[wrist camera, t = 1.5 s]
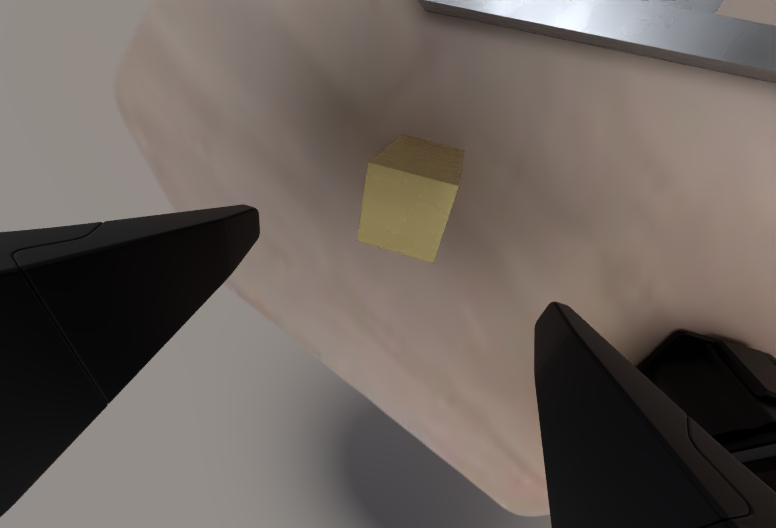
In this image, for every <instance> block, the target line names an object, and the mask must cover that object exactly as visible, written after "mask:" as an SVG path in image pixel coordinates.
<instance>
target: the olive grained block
mask: <svg viewBox="0 0 776 528" xmlns="http://www.w3.org/2000/svg"><path fill="white" fill-rule="evenodd" d="M463 156H464V150H460V149H456V148H452V147H448V146H444V145H440V144H436V143H432V142H428V141H424V140H420V139H416V138H412V137H408V136H404V135H401V136H399V137H398V138H397V139H396V140H395V141H393V142H392V143H391V144H390V145H389V146H387V147H386V148H385V149H384V150H382V151H381V152H380V153H379V154H378V155H376V156H375V157H374V158H373V159H371V160H370V161H369V162H368V167H367V174H366V181H365V188H364V195H363V202H362V209H361V216H360V223H359V230H358V237H357V241H359V242H362V243H366V244H369V245H373V246H376V247H379V248H383V249H386V250H390V251H393V252H396V253H400V254H403V255H407V256H410V257H413V258H417V259H420V260H424V261H427V262H430V263H434V260H435V257H436V254H437V251H438V248H439V245H440V242H441V239H442V236H443V233H444V230H445V227H446V224H447V221H448V218H449V215H450V212H451V209H452V206H453V203H454V200H455V197H456V194H457V191H458V188H459V183H460V176H461V170H462V163H463Z"/></svg>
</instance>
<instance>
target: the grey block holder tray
mask: <svg viewBox="0 0 776 528" xmlns="http://www.w3.org/2000/svg"><path fill="white" fill-rule="evenodd" d="M418 1H419V3H420V4H421V5H422V7H423V8H424V9H425V10H426V11H430V12H435V13H440V14H444V15H449V16H454V17H459V18H464V19H469V20H473V21H478V22H483V23H488V24H493V25H497V26H502V27H507V28H512V29H517V30H522V31H526V32H531V33H536V34H541V35H546V36H550V37H555V38H560V39H565V40H570V41H575V42H579V43H584V44H589V45H594V46H599V47H604V48H608V49H613V50H618V51H623V52H628V53H632V54H637V55H642V56H647V57H652V58H657V59H661V60H666V61H671V62H676V63H681V64H685V65H690V66H695V67H700V68H705V69H710V70H714V71H719V72H724V73H729V74H734V75H738V76H743V77H748V78H753V79H758V80H763V81H767V82H772V83H776V26H772V25H767V24H762V23H757V22H751V21H746V20H741V19H736V18H730V17H725V16H720V15H715V13H716V11H717V10H718V8H719V6H720V5H721V3H722V2H723V0H418Z"/></svg>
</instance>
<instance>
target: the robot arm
mask: <svg viewBox="0 0 776 528" xmlns="http://www.w3.org/2000/svg"><path fill="white" fill-rule="evenodd" d="M259 234H260V225H259V212H258V210H257V209H256V208H254V207H251V206H248V205H235V206H227V207H219V208H211V209H203V210H194V211H186V212H178V213H170V214H162V215H154V216H146V217H138V218H129V219H122V220H113V221H106V222H104V223H102V222H97V223H88V224H80V225H71V226H62V227H53V228H43V229H33V230H21V231H12V232H11V231H10V232H0V517H1V516H2V515H3V514H4V513H5V512H6V511H8V510H9V509H10V508H11V507H12V506H13V505H14V504H15V503H16V502H17V501H18V500H19V499H20V498H21V496H22V495H23V494H24V493H25V492H26V491H27V490H28V489H29V488H30V487H31V486H32V485H33V484H34V483H35V482H36V481H37V480H38V479H39V477H40V476H41V475H42V474H43V473H44V472H45V471H46V470H47V469H48V468H49V467H50V466H51V465H52V464H53V463H54V462H55V461H56V459H57V458H58V457H59V456H60V455H61V454H62V453H63V452H64V451H65V450H66V449H67V448H68V447H69V446H70V445H71V444H72V442H73V441H74V440H75V439H76V438H77V437H78V436H79V435H80V434H81V433H82V432H83V431H84V430H85V429H86V428H87V427H88V426H89V425H90V424H91V422H92V421H93V420H94V419H95V418H96V417H97V416H98V415H99V414H100V413H101V412H102V411H103V410H104V409H105V408H106V407H107V404H109V403H110V402H111V401H112V400H113V399H114V398H115V397H116V396H117V395H118V394H119V392H121V390H122V389H123V388H124V387H125V386H126V385H127V384H128V383H129V382H130V381H131V380H132V379H133V378H134V377H135V376H136V375H137V374H138V372H139V371H140V370H141V369H142V368H143V367H144V366H145V365H146V364H147V363H148V362H149V361H150V360H151V359H152V358H153V357H154V355H156V353H157V352H158V351H159V350H160V349H161V348H162V347H163V346H164V345H165V344H166V343H167V342H168V341H169V340H170V339H171V338H172V337H173V335H174V334H175V333H176V332H177V331H178V330H179V329H180V328H181V327H182V326H183V325H184V324H185V323H186V322H187V321H188V320H189V319H190V317H191V316H192V315H193V314H194V313H195V312H196V311H197V310H198V309H199V308H200V307H201V306H202V305H203V304H204V303H205V302H206V301H207V299H208V298H209V297H210V296H211V295H212V294H213V293H214V292H215V291H216V290H217V289H218V288H219V287H220V286H221V285H222V284H223V283H224V282H225V281H226V279H227V278H228V277H229V276H230V275H231V274H232V273H233V271H234V270H235V269H236V268H237V266H238V265H239V264H240V262H241V261H242V260H243V258H244V257H245V256H246V254H247V253H248V252H249V250H250V249H251V248H252V246H253V245H254V244H255V242H256V241H257V239H258V238H259ZM534 376H535V386H536V395H537V404H538V412H539V421H540V429H541V438H542V447H543V455H544V464H545V473H546V481H547V490H548V499H549V507H550V516H551V524H552V528H776V358H775V357H773V356H770V355H767V354H763V353H762V352H761V351H758V350H754V349H751V348H748V347H744V346H741V345H737V344H734V343H730V342H727V341H724V340H715V339H712V338H708V337H705V336H701V335H698V334H694V333H691V332H688V331H678V332H675V333H674V334H672V335H671V336H670V337H669V338H668V339H667V340H666V341H665V342H664V343H663V344H662V345H660V346H659V347H658V348H657V349H656V350H655V351H654V352H653V353H652V354H651V355H650V356H649V357H647V358H646V359H645V360H644V361H643V362H642V363H641V364H640V365H639V366H638V367H637V368H636V367H635V366H634V365H632V364H631V363H630V362H629V361H628V360H627V359H626V358H625V357H624V356H623V355H622V354H620V353H619V352H618V351H617V350H616V349H615V348H614V347H613V346H612V345H611V344H610V343H608V342H607V341H606V340H605V339H604V338H603V337H602V336H601V335H600V334H599V333H598V332H596V331H595V330H594V329H593V328H592V327H591V326H590V325H589V324H588V323H587V322H586V321H584V320H583V319H582V318H581V317H580V316H579V315H578V314H577V313H576V312H575V311H574V310H572V309H571V308H570V307H569V306H567V305H565V304H562V303H558V302H551V303H550V304H549V305H548V306H547V308H546V309H545V310H544V312H543V313H542V314H541V316H540V317H539V319H538V320H537V322H536V324H535V339H534Z"/></svg>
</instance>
